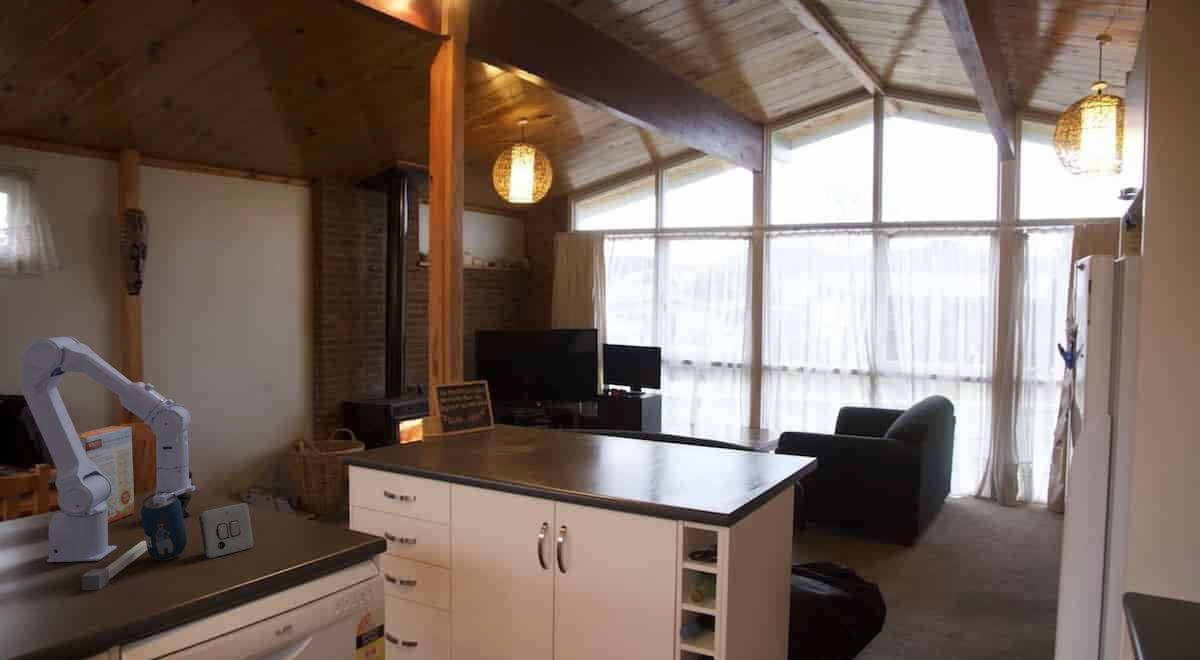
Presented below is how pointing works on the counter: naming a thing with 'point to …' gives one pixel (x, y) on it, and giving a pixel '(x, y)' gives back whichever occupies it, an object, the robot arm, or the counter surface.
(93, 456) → the cracker box
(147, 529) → the soda can
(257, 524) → the counter surface
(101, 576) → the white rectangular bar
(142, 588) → the counter surface
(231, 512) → the electrical switch
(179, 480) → the robot arm
